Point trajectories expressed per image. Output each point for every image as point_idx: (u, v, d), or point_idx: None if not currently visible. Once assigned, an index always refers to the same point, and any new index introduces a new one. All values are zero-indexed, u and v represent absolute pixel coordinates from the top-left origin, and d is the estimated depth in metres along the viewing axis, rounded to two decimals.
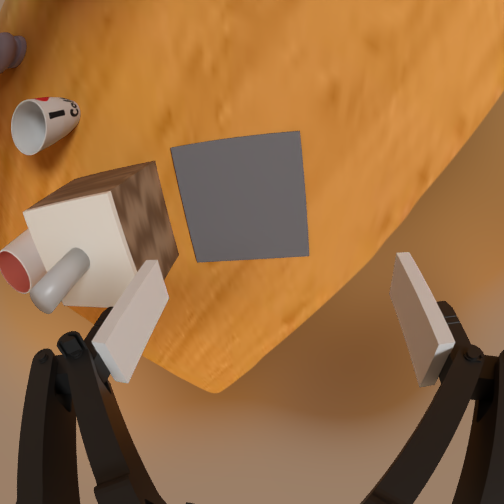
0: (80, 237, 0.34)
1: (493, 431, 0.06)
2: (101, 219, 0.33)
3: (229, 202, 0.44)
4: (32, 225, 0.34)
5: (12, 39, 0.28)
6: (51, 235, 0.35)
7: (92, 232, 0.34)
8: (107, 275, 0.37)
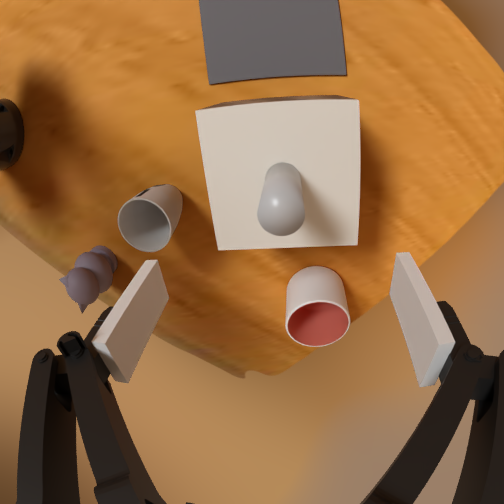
0: (250, 164, 0.30)
1: (493, 431, 0.06)
2: (226, 125, 0.29)
3: (269, 30, 0.33)
4: (235, 240, 0.35)
5: (83, 253, 0.51)
6: (248, 212, 0.33)
7: (243, 143, 0.29)
8: (306, 142, 0.29)
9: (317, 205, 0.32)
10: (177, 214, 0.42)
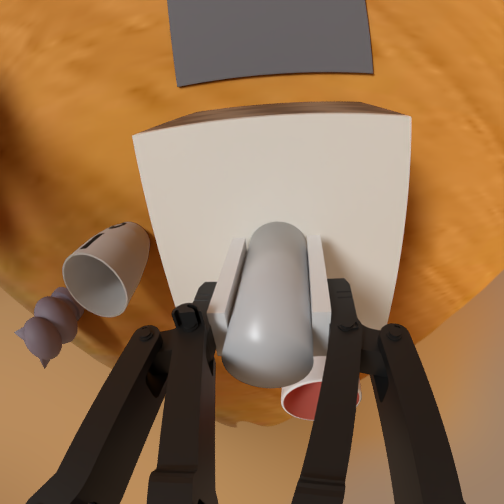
0: (225, 224, 0.19)
1: (400, 410, 0.08)
2: (182, 159, 0.17)
3: (263, 7, 0.22)
4: None
5: (42, 298, 0.39)
6: None
7: (212, 190, 0.18)
8: (320, 188, 0.17)
9: None
10: (137, 269, 0.31)
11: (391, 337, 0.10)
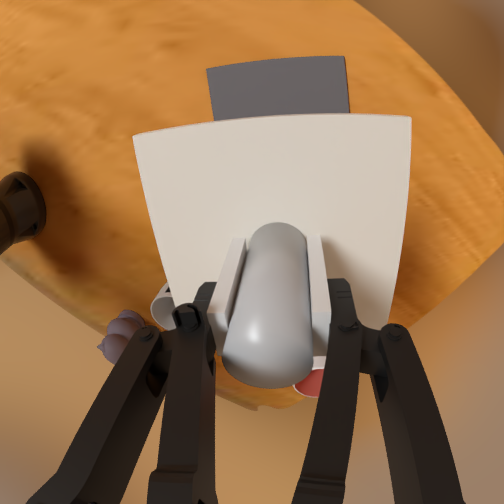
0: (225, 225, 0.19)
1: (400, 410, 0.08)
2: (182, 159, 0.17)
3: None
4: None
5: (114, 319, 0.59)
6: None
7: (212, 190, 0.18)
8: (320, 189, 0.17)
9: None
10: None
11: (391, 337, 0.10)
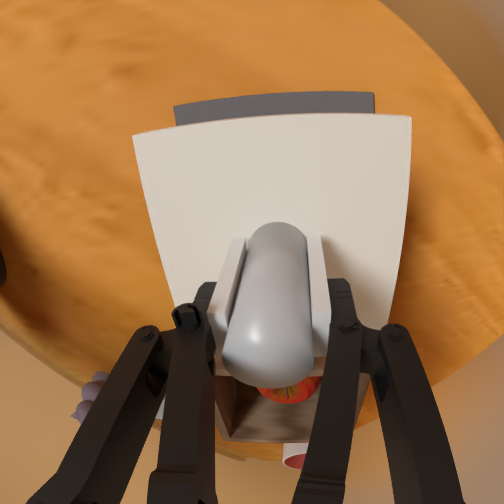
0: (225, 224, 0.19)
1: (400, 410, 0.08)
2: (182, 159, 0.17)
3: None
4: None
5: (88, 384, 0.48)
6: None
7: (212, 190, 0.18)
8: (320, 188, 0.17)
9: None
10: None
11: (391, 337, 0.10)
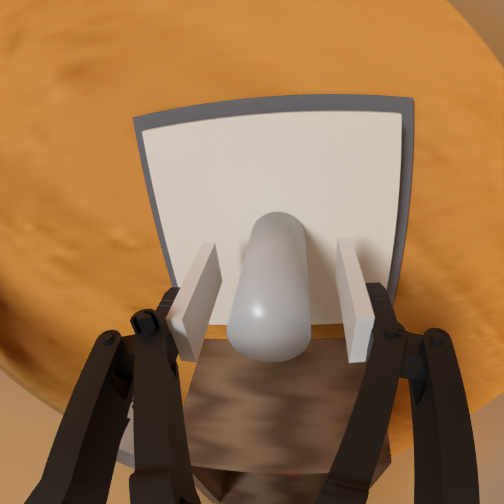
0: (228, 214, 0.20)
1: (434, 414, 0.07)
2: (189, 153, 0.18)
3: None
4: (211, 314, 0.25)
5: None
6: (227, 281, 0.23)
7: (216, 182, 0.19)
8: (316, 180, 0.18)
9: (328, 273, 0.22)
10: None
11: (433, 341, 0.10)
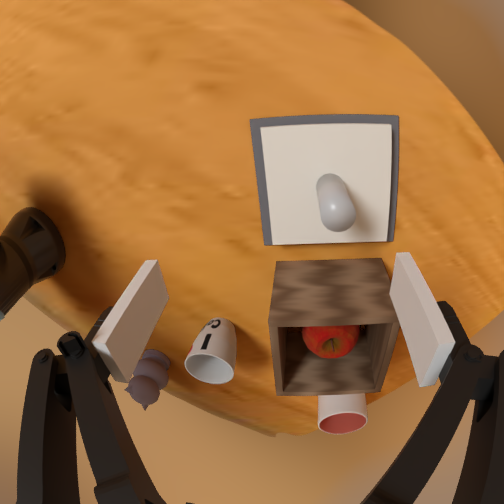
0: (304, 174, 0.37)
1: (493, 431, 0.06)
2: (286, 141, 0.35)
3: None
4: (287, 236, 0.42)
5: (141, 361, 0.58)
6: (300, 213, 0.40)
7: (300, 157, 0.36)
8: (350, 157, 0.35)
9: (356, 208, 0.38)
10: (235, 355, 0.49)
11: None
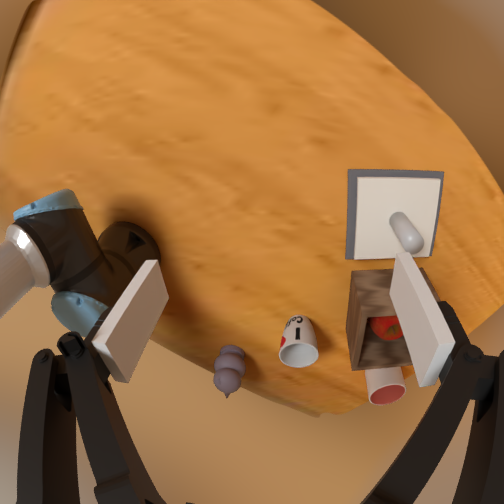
0: (383, 211, 0.51)
1: (493, 431, 0.06)
2: (374, 189, 0.49)
3: None
4: (365, 253, 0.56)
5: (224, 355, 0.72)
6: (376, 238, 0.54)
7: (381, 200, 0.50)
8: (413, 201, 0.49)
9: None
10: None
11: None
